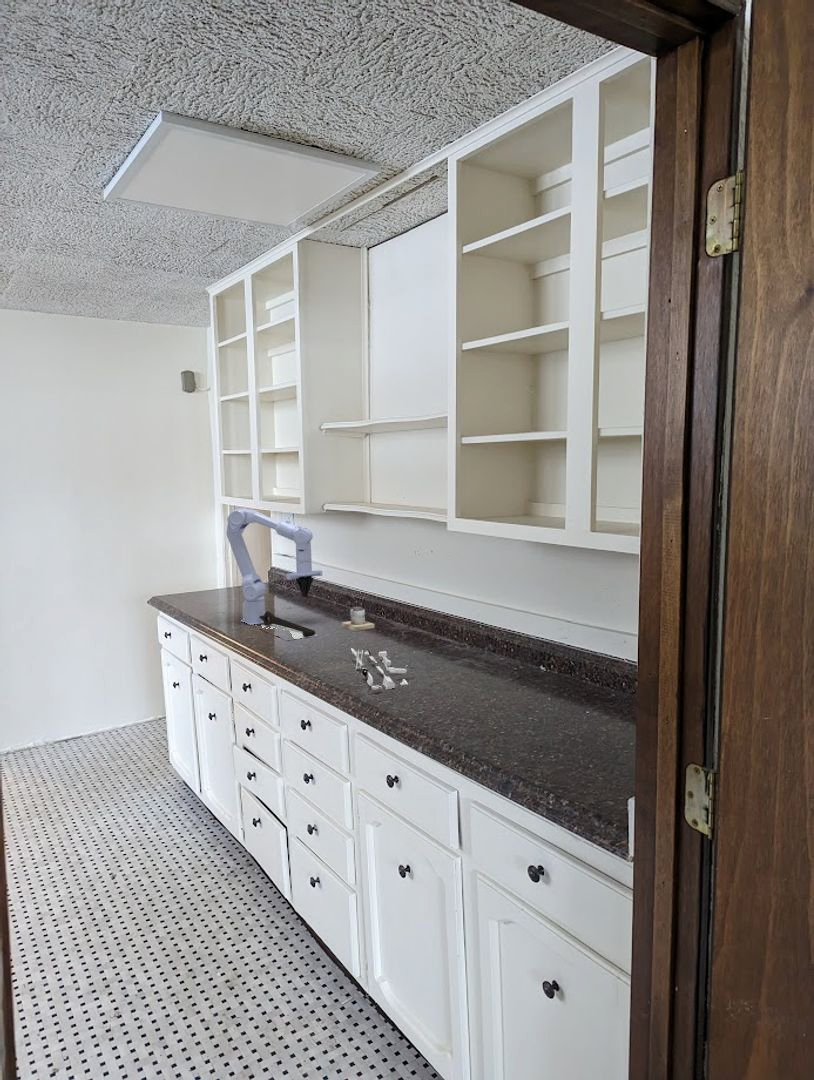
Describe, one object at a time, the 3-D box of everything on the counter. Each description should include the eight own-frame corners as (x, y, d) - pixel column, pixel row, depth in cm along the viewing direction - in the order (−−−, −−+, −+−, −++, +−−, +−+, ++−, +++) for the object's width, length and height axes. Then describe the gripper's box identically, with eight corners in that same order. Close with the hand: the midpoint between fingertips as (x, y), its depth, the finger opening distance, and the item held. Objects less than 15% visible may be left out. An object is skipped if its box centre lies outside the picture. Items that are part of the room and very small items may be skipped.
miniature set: (345, 657, 218) (383, 659, 222) (370, 699, 185) (414, 701, 188) (348, 637, 217) (386, 640, 221) (374, 676, 184) (418, 678, 188)
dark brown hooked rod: (305, 642, 245) (252, 624, 265) (316, 640, 249) (263, 622, 268) (305, 628, 245) (253, 610, 264) (317, 626, 248) (264, 609, 268)
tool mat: (252, 626, 264) (252, 626, 264) (281, 622, 271) (281, 621, 271) (287, 641, 242) (287, 640, 241) (317, 635, 249) (317, 635, 249)
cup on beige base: (341, 626, 262) (341, 607, 262) (359, 623, 267) (359, 604, 266) (356, 631, 254) (355, 611, 254) (374, 628, 259) (374, 608, 258)
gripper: (291, 563, 258) (292, 600, 260) (326, 560, 267) (326, 595, 268) (282, 561, 264) (283, 597, 265) (316, 558, 272) (317, 593, 274)
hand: (304, 596), depth 267 cm, fingers closed
